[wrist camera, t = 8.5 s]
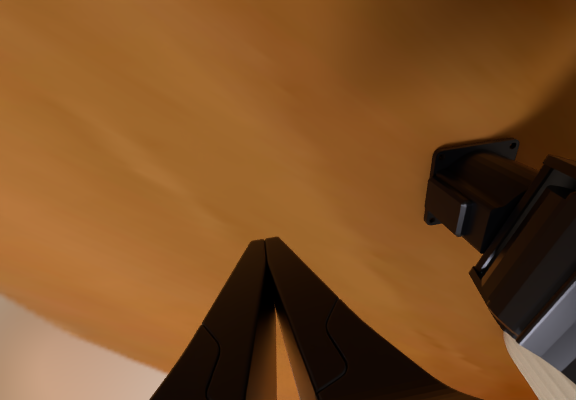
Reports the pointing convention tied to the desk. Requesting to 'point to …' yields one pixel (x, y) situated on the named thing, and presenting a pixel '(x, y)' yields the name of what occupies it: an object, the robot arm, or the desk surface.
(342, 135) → the desk surface
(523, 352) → the canister
